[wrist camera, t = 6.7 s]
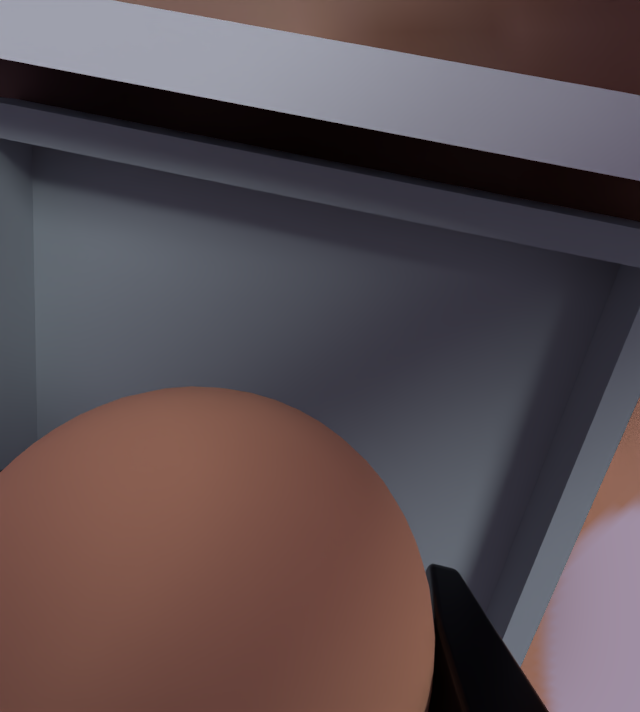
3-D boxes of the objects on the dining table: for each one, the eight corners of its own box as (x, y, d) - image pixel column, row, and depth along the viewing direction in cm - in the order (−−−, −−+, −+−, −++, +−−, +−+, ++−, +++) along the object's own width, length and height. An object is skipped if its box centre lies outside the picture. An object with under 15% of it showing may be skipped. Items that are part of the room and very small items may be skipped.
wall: (950, 178, 8) (1223, 199, 5) (917, 232, 8) (1160, 279, 6) (-182, -30, 10) (-423, -96, 7) (-175, 24, 10) (-403, -19, 7)
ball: (472, 371, 9) (577, 800, 3) (385, 652, 11) (355, 1185, 5) (97, 288, 9) (-399, 533, 4) (90, 575, 11) (-217, 993, 6)
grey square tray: (662, 226, 9) (706, 242, 8) (470, 697, 13) (477, 763, 12) (14, 98, 10) (-51, 92, 8) (28, 579, 14) (-14, 628, 13)
